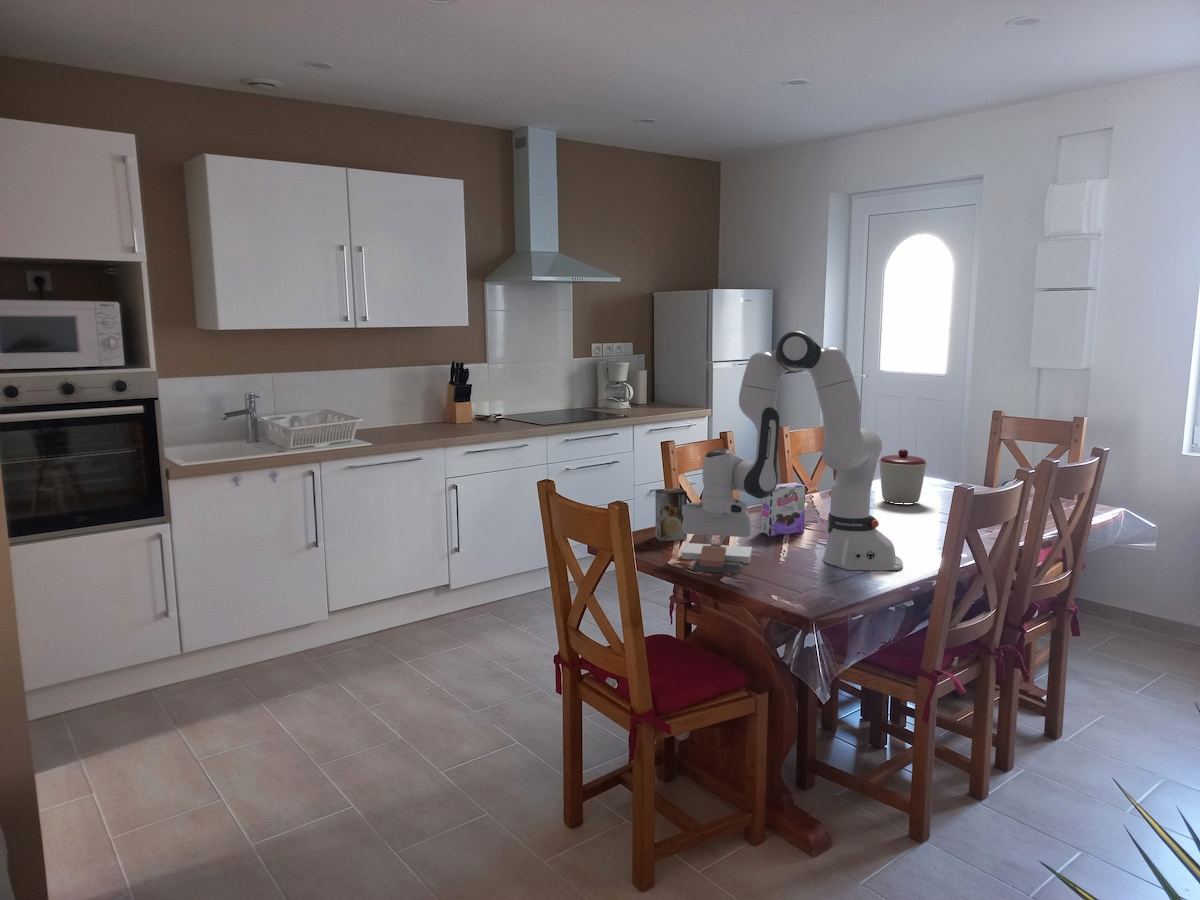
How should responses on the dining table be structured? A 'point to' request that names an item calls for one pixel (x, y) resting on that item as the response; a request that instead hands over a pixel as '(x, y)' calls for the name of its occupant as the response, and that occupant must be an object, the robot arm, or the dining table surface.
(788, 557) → the dining table surface
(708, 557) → the tile
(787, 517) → the candy box
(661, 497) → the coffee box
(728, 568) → the mat
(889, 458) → the canister
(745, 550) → the deck
